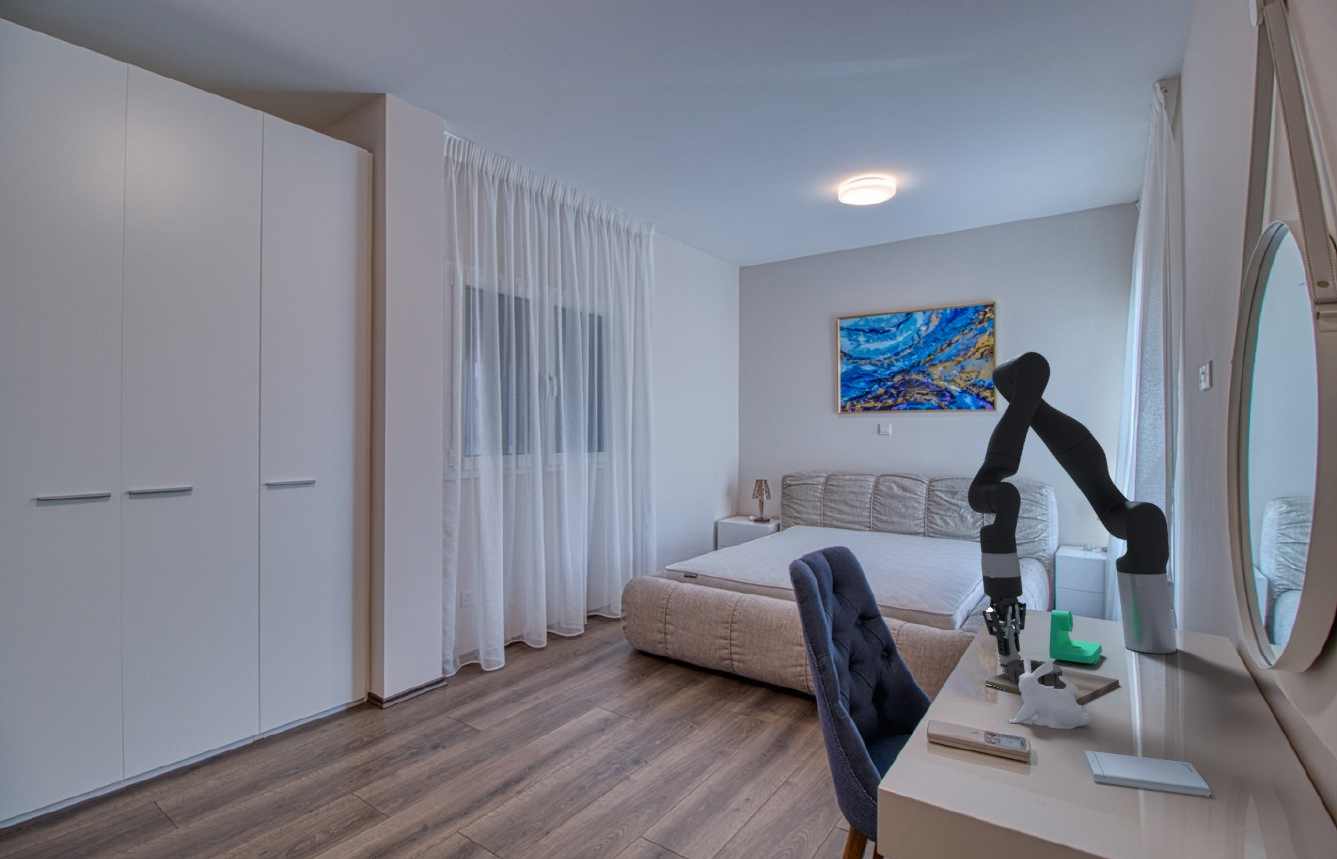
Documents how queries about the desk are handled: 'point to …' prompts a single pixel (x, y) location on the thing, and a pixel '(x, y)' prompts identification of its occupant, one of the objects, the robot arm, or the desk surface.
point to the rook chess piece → (1013, 651)
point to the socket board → (1073, 677)
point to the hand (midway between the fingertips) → (1009, 652)
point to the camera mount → (1070, 641)
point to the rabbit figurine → (1049, 701)
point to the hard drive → (1146, 773)
